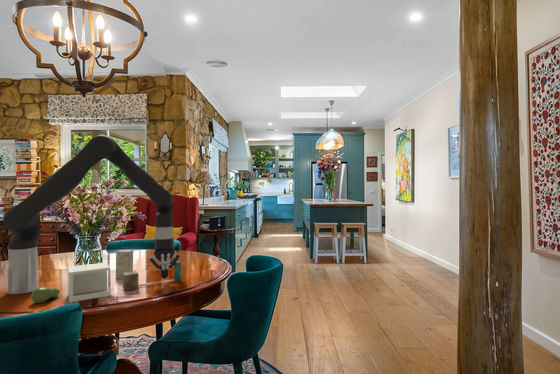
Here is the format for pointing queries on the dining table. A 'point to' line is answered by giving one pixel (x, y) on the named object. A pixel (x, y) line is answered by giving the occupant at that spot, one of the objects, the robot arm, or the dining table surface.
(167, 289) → the dining table surface
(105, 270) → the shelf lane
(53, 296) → the pear
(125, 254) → the skincare box
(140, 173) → the robot arm
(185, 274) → the dining table surface
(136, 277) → the block with cord
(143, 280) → the dining table surface
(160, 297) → the dining table surface
